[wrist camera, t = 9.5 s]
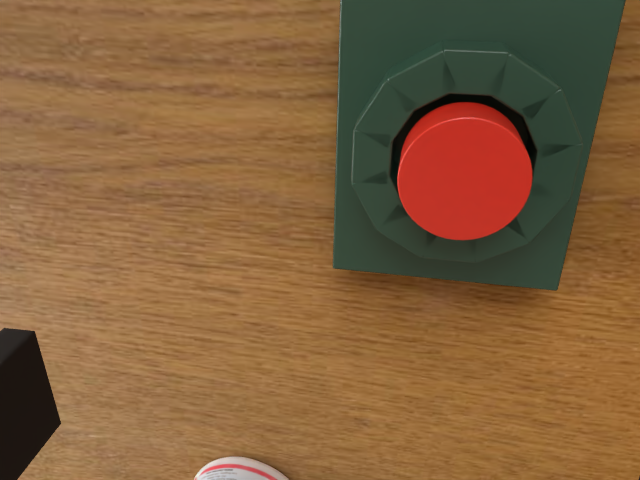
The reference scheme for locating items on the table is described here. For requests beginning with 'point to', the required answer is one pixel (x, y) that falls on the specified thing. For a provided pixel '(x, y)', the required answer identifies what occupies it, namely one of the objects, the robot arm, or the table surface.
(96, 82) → the table surface
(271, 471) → the pill bottle
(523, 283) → the button block
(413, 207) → the button
